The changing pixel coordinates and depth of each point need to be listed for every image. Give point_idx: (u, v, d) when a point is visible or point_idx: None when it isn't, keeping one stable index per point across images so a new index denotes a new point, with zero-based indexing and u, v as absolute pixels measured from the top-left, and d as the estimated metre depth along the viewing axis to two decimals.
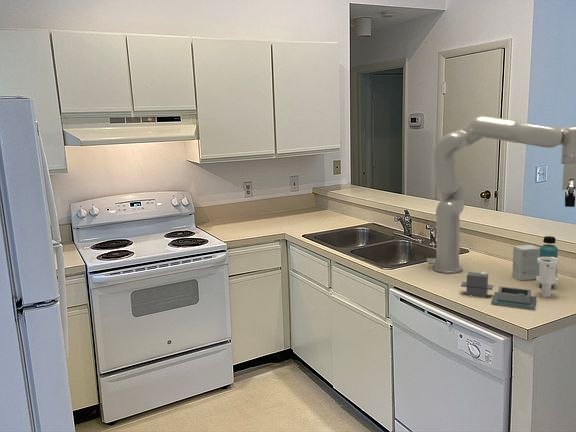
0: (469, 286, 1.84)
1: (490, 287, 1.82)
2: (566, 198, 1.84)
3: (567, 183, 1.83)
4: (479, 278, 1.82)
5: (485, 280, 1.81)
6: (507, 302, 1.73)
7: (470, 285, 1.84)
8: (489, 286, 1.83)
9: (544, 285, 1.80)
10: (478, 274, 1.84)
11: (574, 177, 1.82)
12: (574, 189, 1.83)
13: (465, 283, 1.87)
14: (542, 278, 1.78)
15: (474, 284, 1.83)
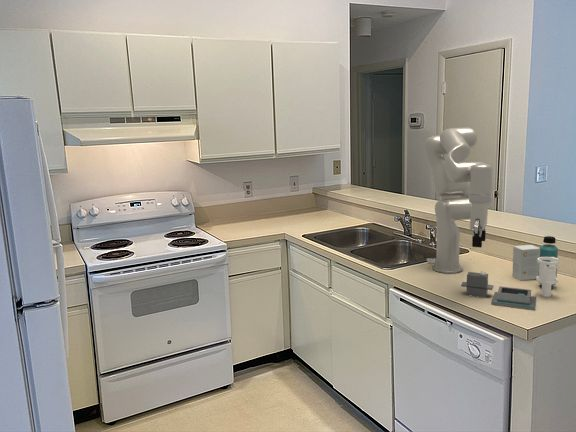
0: (469, 286, 1.84)
1: (490, 287, 1.82)
2: (473, 238, 1.77)
3: (473, 223, 1.76)
4: (479, 278, 1.82)
5: (485, 280, 1.81)
6: (507, 302, 1.73)
7: (470, 285, 1.84)
8: (489, 286, 1.83)
9: (544, 285, 1.80)
10: (478, 274, 1.84)
11: (480, 217, 1.75)
12: (480, 229, 1.76)
13: (465, 283, 1.87)
14: (542, 278, 1.78)
15: (474, 284, 1.83)
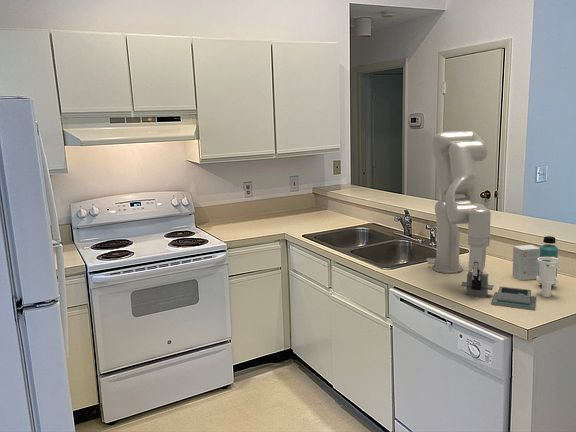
0: (469, 286, 1.84)
1: (490, 287, 1.82)
2: (472, 281, 1.83)
3: (472, 265, 1.79)
4: None
5: (485, 280, 1.81)
6: (507, 302, 1.73)
7: (470, 285, 1.84)
8: (489, 286, 1.83)
9: (544, 285, 1.80)
10: (478, 274, 1.84)
11: (478, 260, 1.78)
12: (479, 272, 1.79)
13: (465, 283, 1.87)
14: (542, 278, 1.78)
15: None
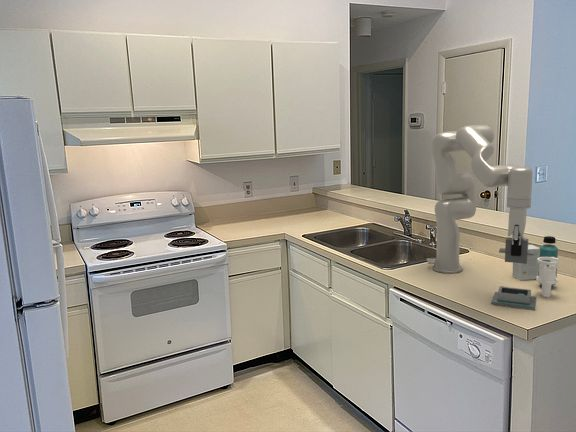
0: (507, 252, 1.72)
1: (531, 252, 1.70)
2: (512, 247, 1.71)
3: (512, 229, 1.67)
4: None
5: (526, 245, 1.69)
6: (507, 302, 1.73)
7: (509, 251, 1.72)
8: (530, 251, 1.71)
9: (544, 285, 1.80)
10: None
11: (519, 223, 1.66)
12: (520, 235, 1.67)
13: (503, 249, 1.75)
14: (542, 278, 1.78)
15: None
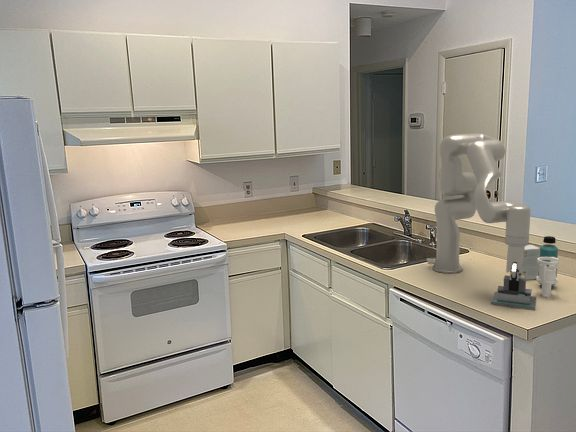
0: (505, 290, 1.75)
1: (529, 291, 1.73)
2: (510, 282, 1.71)
3: (510, 266, 1.70)
4: None
5: (523, 284, 1.72)
6: (507, 302, 1.73)
7: (507, 289, 1.75)
8: (527, 290, 1.74)
9: (544, 285, 1.80)
10: None
11: (517, 260, 1.69)
12: (518, 272, 1.70)
13: (501, 287, 1.78)
14: (542, 278, 1.78)
15: None
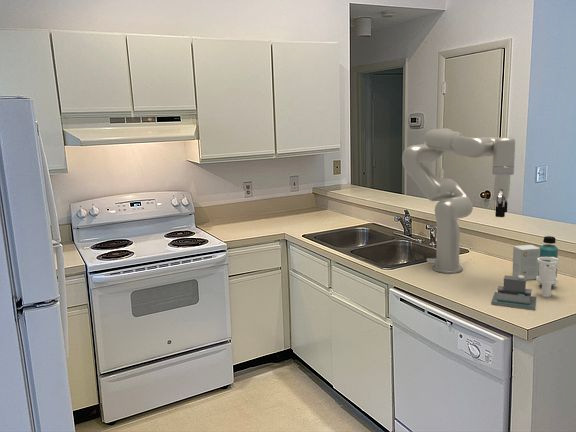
0: (505, 290, 1.75)
1: (529, 291, 1.73)
2: (496, 208, 1.85)
3: (497, 194, 1.84)
4: (517, 282, 1.73)
5: (523, 284, 1.72)
6: (507, 302, 1.73)
7: (507, 289, 1.75)
8: (527, 290, 1.74)
9: (544, 285, 1.80)
10: (515, 278, 1.75)
11: (503, 188, 1.83)
12: (504, 199, 1.84)
13: (501, 287, 1.78)
14: (542, 278, 1.78)
15: (511, 288, 1.74)
